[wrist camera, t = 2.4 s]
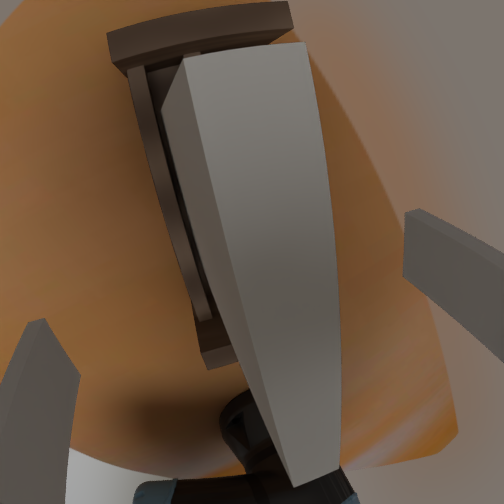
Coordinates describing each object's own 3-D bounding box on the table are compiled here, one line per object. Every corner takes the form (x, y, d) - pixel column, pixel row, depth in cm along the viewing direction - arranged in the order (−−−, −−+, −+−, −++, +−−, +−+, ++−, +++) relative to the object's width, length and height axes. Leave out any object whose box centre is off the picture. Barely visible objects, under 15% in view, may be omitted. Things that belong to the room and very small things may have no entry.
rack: (294, 277, 35) (333, 328, 26) (195, 307, 33) (207, 370, 25) (249, 33, 24) (287, 1, 15) (125, 60, 22) (106, 33, 14)
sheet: (222, 256, 30) (339, 468, 11) (201, 263, 30) (293, 487, 10) (184, 104, 24) (304, 42, 4) (160, 111, 23) (183, 58, 4)
